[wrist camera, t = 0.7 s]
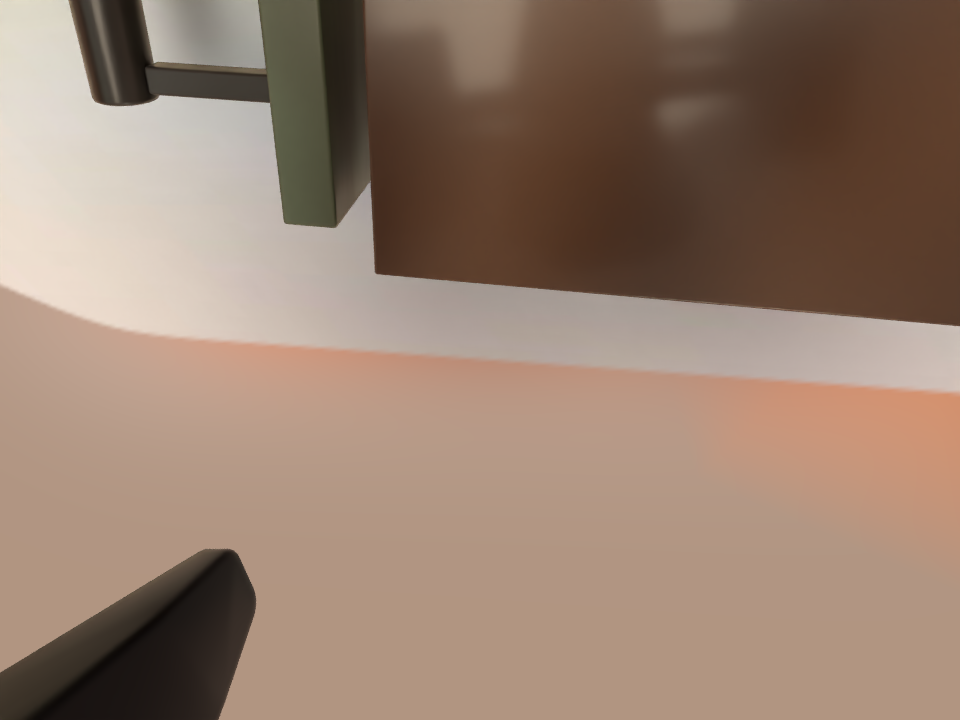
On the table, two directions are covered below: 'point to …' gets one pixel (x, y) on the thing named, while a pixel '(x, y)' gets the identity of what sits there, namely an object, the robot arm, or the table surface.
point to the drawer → (259, 90)
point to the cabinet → (672, 149)
